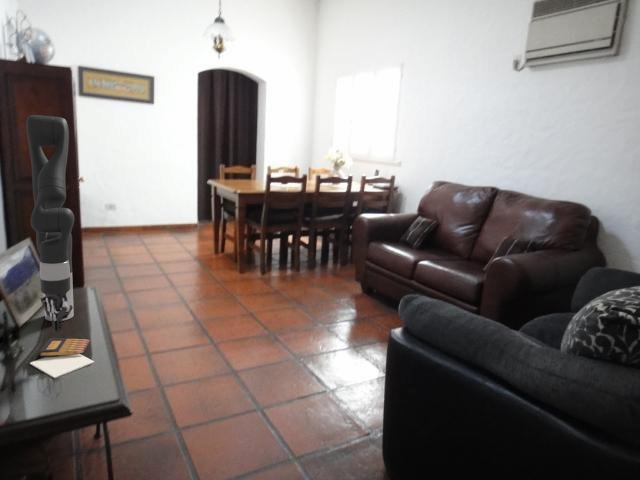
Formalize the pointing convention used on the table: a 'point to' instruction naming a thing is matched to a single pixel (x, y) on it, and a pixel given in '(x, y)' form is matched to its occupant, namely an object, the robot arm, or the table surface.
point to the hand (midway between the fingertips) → (57, 330)
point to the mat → (61, 364)
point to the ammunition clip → (63, 347)
